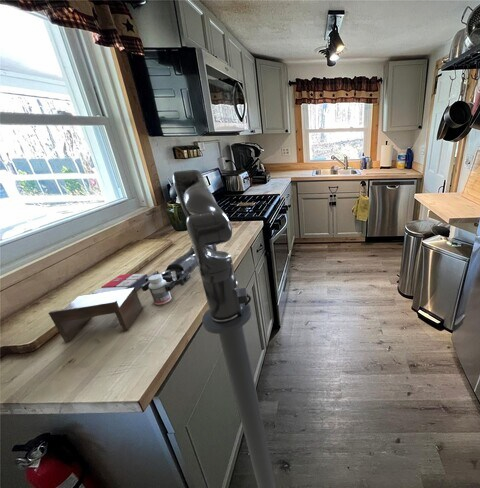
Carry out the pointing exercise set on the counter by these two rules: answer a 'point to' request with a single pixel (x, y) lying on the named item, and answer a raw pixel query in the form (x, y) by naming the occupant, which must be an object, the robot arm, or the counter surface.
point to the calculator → (123, 283)
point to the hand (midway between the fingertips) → (154, 289)
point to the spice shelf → (97, 310)
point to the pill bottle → (159, 289)
